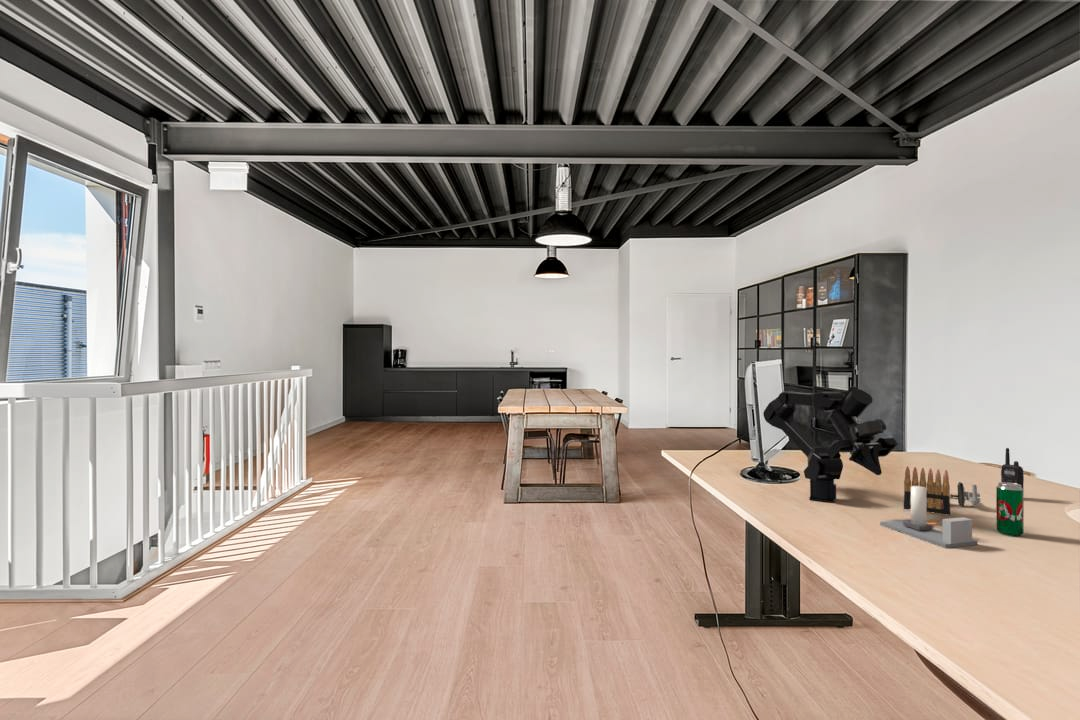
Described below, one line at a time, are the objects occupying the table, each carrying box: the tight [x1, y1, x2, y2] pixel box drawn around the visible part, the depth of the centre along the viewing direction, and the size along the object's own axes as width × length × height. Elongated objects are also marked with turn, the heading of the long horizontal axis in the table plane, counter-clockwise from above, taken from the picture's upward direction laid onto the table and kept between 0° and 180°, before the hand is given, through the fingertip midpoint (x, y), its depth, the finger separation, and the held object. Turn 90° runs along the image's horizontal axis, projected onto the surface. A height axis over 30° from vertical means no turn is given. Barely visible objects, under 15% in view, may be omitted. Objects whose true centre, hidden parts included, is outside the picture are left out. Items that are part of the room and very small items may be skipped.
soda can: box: [995, 481, 1025, 537], centre depth 137 cm, size 5×5×12 cm
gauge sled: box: [903, 485, 937, 530], centre depth 140 cm, size 4×7×10 cm, turn 103°
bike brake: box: [933, 481, 981, 508], centre depth 168 cm, size 14×7×20 cm
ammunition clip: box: [903, 466, 951, 516], centre depth 157 cm, size 11×2×12 cm, turn 53°
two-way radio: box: [1000, 447, 1025, 490], centre depth 171 cm, size 6×4×15 cm
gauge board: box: [879, 516, 978, 549], centre depth 137 cm, size 18×9×6 cm, turn 13°
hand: (879, 474), depth 150 cm, fingers closed
